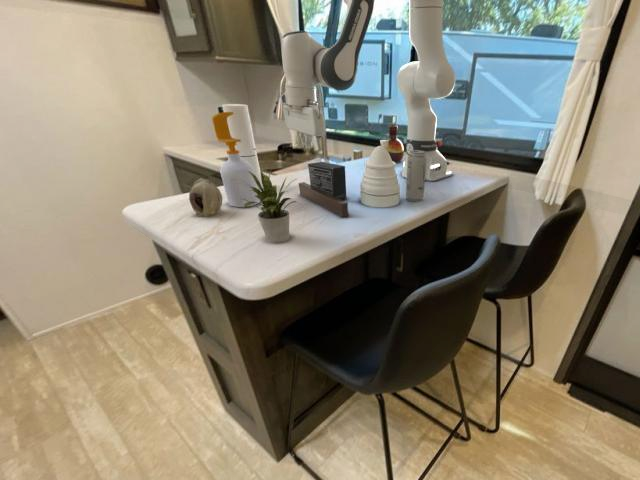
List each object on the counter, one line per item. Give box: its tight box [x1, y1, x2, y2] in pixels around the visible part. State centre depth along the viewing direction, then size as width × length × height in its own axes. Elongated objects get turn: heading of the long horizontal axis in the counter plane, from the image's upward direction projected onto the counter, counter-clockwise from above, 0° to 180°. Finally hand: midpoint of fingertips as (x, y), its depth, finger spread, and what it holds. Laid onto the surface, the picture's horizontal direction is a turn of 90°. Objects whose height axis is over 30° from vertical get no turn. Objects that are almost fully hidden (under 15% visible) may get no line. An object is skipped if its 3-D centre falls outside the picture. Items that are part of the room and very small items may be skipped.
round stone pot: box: [188, 177, 223, 217], centre depth 90 cm, size 9×8×10 cm
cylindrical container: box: [221, 103, 264, 190], centre depth 107 cm, size 7×7×25 cm
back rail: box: [298, 181, 349, 218], centre depth 100 cm, size 2×26×4 cm, turn 41°
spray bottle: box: [211, 111, 261, 208], centre depth 93 cm, size 9×9×25 cm
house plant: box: [234, 169, 299, 244], centre depth 75 cm, size 14×14×16 cm
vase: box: [385, 124, 405, 164], centre depth 155 cm, size 11×11×15 cm
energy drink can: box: [405, 150, 427, 202], centre depth 106 cm, size 6×6×15 cm
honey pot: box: [359, 139, 401, 208], centre depth 102 cm, size 13×13×18 cm
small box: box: [307, 161, 348, 201], centre depth 105 cm, size 11×6×10 cm, turn 58°
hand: (307, 147), depth 107 cm, fingers closed
